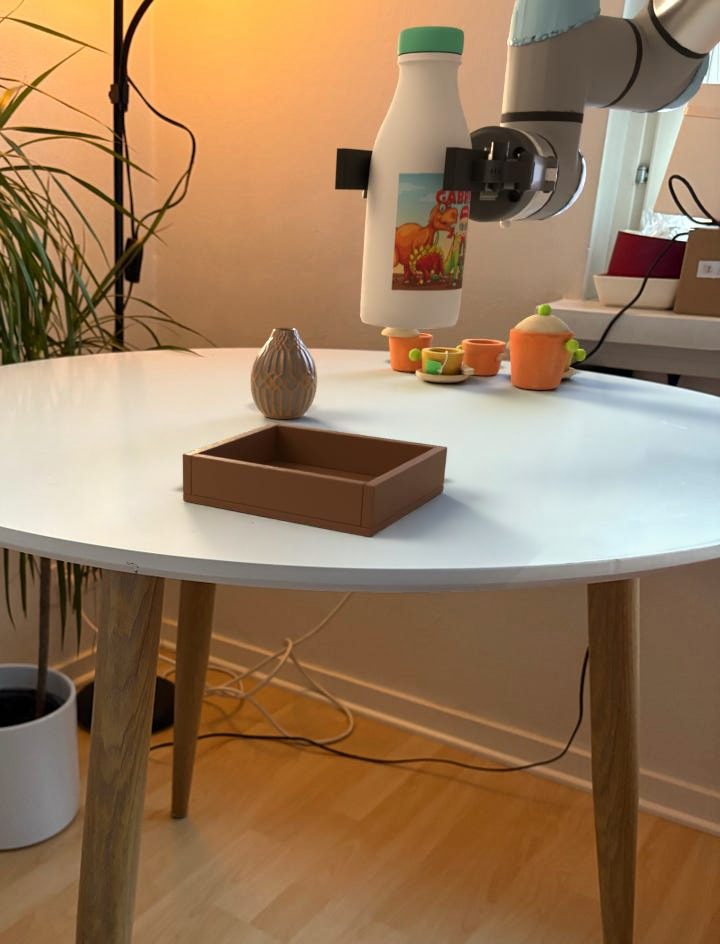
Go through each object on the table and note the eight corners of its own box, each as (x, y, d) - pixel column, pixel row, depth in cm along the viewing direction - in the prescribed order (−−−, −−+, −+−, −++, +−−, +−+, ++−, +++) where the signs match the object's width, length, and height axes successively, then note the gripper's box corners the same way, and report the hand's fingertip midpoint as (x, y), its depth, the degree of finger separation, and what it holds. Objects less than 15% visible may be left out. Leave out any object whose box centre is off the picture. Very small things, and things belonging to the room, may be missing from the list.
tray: (443, 491, 78) (447, 446, 76) (370, 537, 67) (374, 486, 66) (272, 463, 85) (273, 422, 84) (182, 500, 75) (182, 454, 73)
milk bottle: (350, 327, 75) (367, 23, 67) (369, 317, 82) (387, 38, 74) (451, 333, 73) (482, 19, 65) (463, 321, 80) (492, 35, 72)
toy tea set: (581, 374, 130) (593, 297, 126) (585, 394, 117) (598, 309, 113) (385, 363, 137) (390, 289, 133) (366, 381, 123) (371, 300, 119)
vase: (236, 414, 104) (237, 327, 100) (284, 406, 108) (287, 323, 104) (280, 425, 99) (283, 335, 96) (329, 416, 103) (333, 330, 100)
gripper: (612, 225, 84) (529, 231, 66) (390, 218, 94) (267, 222, 76) (627, 125, 81) (545, 104, 63) (397, 130, 90) (269, 112, 73)
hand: (393, 169), depth 69 cm, fingers closed on milk bottle, 8 cm apart
